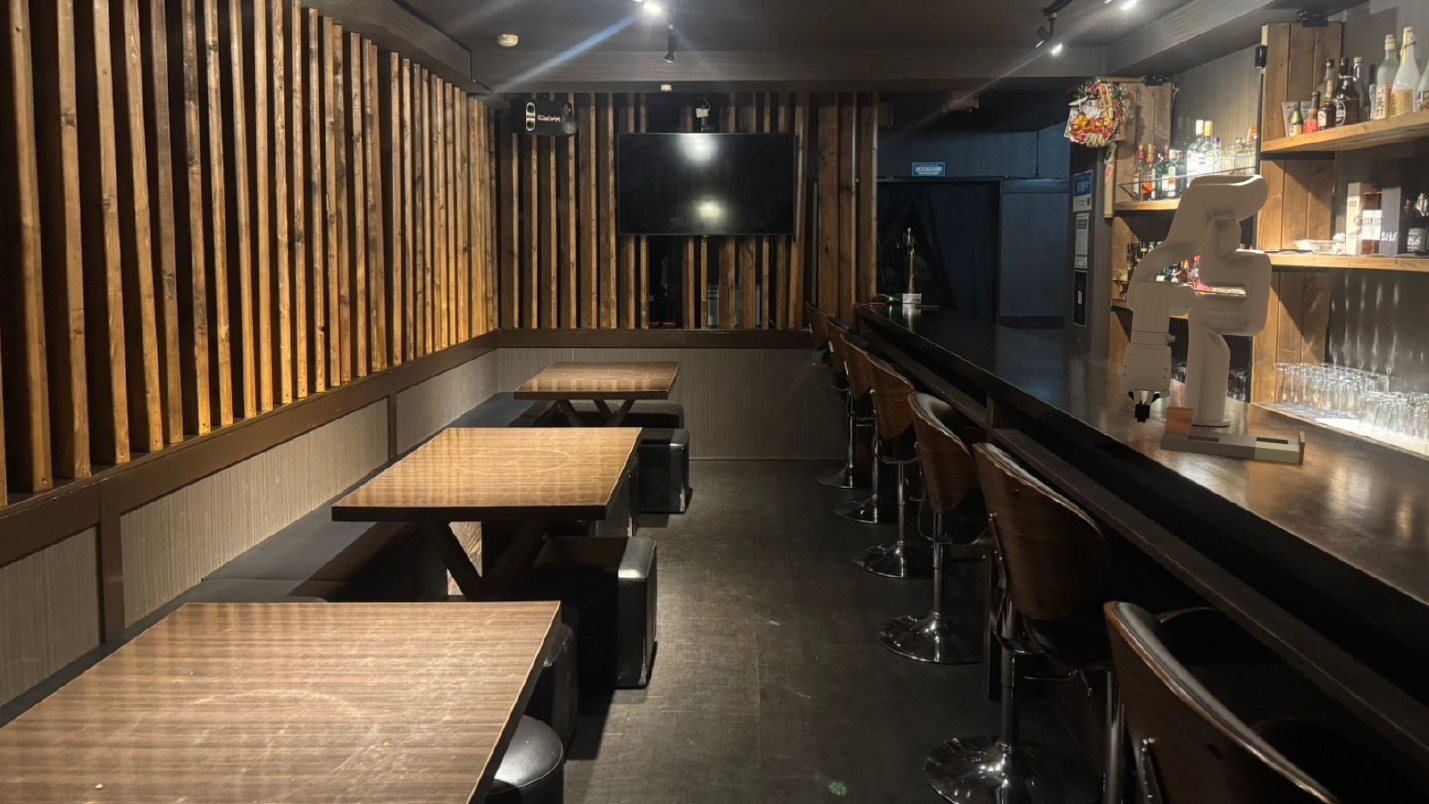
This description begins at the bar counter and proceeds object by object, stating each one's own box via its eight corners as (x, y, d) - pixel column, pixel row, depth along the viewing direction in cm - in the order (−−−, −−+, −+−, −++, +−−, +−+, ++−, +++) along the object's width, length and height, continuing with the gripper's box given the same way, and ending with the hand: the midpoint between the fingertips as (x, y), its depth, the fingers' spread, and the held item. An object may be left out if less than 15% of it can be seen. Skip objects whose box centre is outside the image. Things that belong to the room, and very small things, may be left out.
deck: (1166, 438, 248) (1168, 418, 247) (1301, 452, 236) (1303, 431, 235) (1159, 448, 234) (1161, 427, 234) (1302, 464, 223) (1305, 442, 222)
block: (1166, 428, 246) (1169, 406, 245) (1191, 430, 244) (1193, 408, 243) (1164, 431, 242) (1166, 408, 241) (1189, 434, 239) (1191, 411, 239)
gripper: (1187, 340, 243) (1179, 423, 246) (1115, 335, 250) (1108, 416, 253) (1184, 343, 237) (1176, 427, 239) (1111, 338, 243) (1103, 420, 246)
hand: (1141, 421), depth 246 cm, fingers closed
